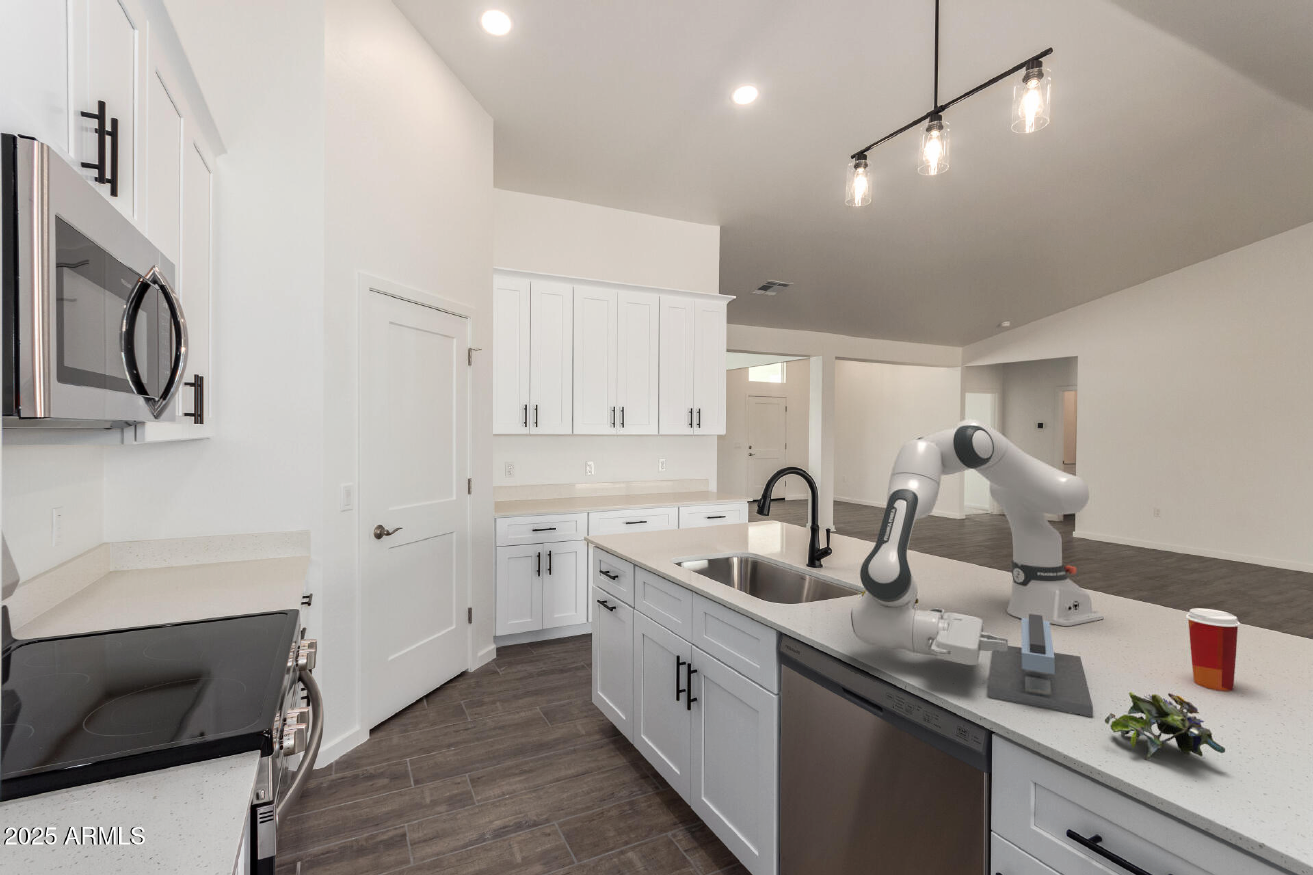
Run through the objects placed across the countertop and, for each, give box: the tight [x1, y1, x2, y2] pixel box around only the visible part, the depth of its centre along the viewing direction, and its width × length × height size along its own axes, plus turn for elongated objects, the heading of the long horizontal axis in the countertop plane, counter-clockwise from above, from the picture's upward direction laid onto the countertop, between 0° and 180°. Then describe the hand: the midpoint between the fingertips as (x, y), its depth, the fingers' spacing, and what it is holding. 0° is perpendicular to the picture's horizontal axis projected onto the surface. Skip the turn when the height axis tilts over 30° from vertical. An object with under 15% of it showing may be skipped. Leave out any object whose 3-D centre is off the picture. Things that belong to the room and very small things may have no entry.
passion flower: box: [1104, 690, 1226, 761], centre depth 91 cm, size 11×11×12 cm
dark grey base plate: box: [987, 645, 1094, 718], centre depth 118 cm, size 26×16×3 cm, turn 148°
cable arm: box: [1021, 614, 1055, 674], centre depth 118 cm, size 25×5×8 cm, turn 148°
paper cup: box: [1185, 607, 1241, 692], centre depth 115 cm, size 8×8×14 cm
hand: (1007, 644), depth 116 cm, fingers closed
